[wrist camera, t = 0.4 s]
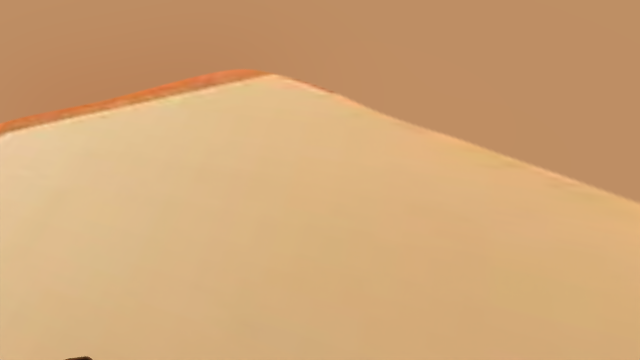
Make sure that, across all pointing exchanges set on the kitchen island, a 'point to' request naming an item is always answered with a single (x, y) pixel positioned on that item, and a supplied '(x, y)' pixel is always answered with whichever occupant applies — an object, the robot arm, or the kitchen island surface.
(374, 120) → the kitchen island surface
